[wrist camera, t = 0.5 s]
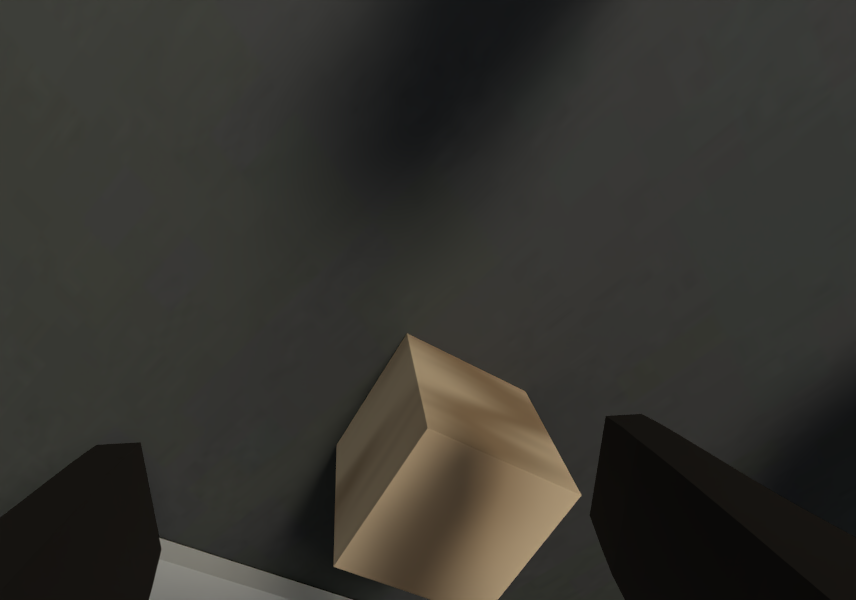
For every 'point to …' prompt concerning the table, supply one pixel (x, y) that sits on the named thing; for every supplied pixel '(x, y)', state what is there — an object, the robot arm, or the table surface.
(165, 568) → the pad
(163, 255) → the table surface
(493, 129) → the table surface
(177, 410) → the table surface
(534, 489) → the birch block
